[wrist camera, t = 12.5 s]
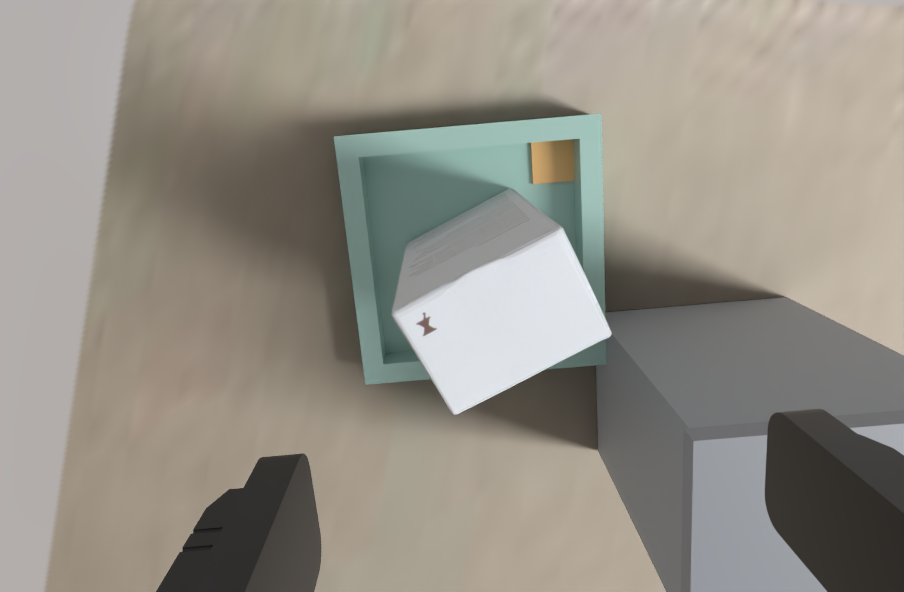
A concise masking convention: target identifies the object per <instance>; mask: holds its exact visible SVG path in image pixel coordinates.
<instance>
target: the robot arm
mask: <svg viewBox="0 0 904 592" xmlns="http://www.w3.org/2000/svg"><path fill="white" fill-rule="evenodd" d="M765 503H766V508H767V512H768V515H769V518H770V520H771V523H772V525H773V527H774V528H775V530H776V531H777V533H778V534H779V535H780V536H781V537H782V539H783V540H784V541H785V542H786V543H787V545H788V546H789V547H790V548H791V549H792V550H793V552H794V553H795V554H796V555H797V556H798V558H799V559H800V560H801V561H802V562H803V563H804V565H805V566H806V567H807V568H808V569H809V571H810V572H811V573H812V574H813V575H814V576H815V578H816V579H817V580H818V581H819V582H820V584H821V585H822V586H823V587H824V588H825V589H826V591H827V592H904V455H902V454H901V453H900V452H898V451H897V450H895V449H894V448H892V447H889V446H887V445H884V444H882V443H880V442H877V441H875V440H872V439H870V438H868V437H865V436H863V435H860V434H857V433H856V432H854V431H853V430H851V429H850V428H849V427H847V426H846V425H845V424H843V423H842V422H840V421H839V420H838V419H836V418H835V417H834V416H832V415H831V414H829V413H828V412H827V411H825V410H823V409H809V410H798V411H786V412H776V413H774V414H773V415H772V416H771V417H770V420H769V423H768V433H767V453H766V474H765ZM320 563H321V535H320V528H319V522H318V515H317V509H316V503H315V497H314V490H313V484H312V478H311V471H310V466H309V462H308V459H307V456H306V455H305V454H294V455H282V456H271V457H262V458H260V459H259V460H258V462H257V464H256V466H255V468H254V469H253V471H252V473H251V475H250V477H249V479H248V481H247V483H246V484H245V486H244V488H240V489H229V490H228V491H227V492H226V493H224V494H223V495H222V496H221V497H220V498H218V499H217V500H216V501H215V502H213V503H212V504H211V505H210V506H209V507H207V508H206V510H205V511H204V513H203V515H202V516H201V518H200V520H199V521H198V523H197V525H196V526H195V528H194V530H193V534H191V535H190V536H189V538H188V540H187V541H186V543H185V545H184V546H183V552H180V553H179V555H178V556H177V558H176V559H175V561H174V563H173V564H172V566H171V568H170V569H169V571H168V573H167V574H166V576H165V578H164V579H163V581H162V583H161V584H160V586H159V588H158V589H157V591H156V592H314V590H315V586H316V582H317V578H318V574H319V570H320Z"/></svg>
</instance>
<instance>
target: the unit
mask: <svg viewBox="0 0 904 592" xmlns="http://www.w3.org/2000/svg"><path fill="white" fill-rule="evenodd" d="M605 319H606V321H607V323H608V326H609V328H610V330H611V332H612V334H611V336H610V337H609V338H606V365H596V379H597V420H598V451H599V454H600V456H601V458H602V460H603V462H604V464H605V466H606V468H607V470H608V472H609V474H610V476H611V478H612V480H613V482H614V484H615V487H616V489H617V491H618V493H619V495H620V497H621V499H622V501H623V503H624V505H625V507H626V509H627V511H628V513H629V515H630V517H631V519H632V522H633V524H634V526H635V528H636V530H637V532H638V534H639V536H640V538H641V540H642V542H643V544H644V546H645V548H646V550H647V552H648V555H649V557H650V559H651V561H652V563H653V565H654V567H655V569H656V571H657V573H658V575H659V577H660V579H661V581H662V583H663V585H664V588H665V590H666V592H827V591H826V589H825V588H824V587H823V586H822V585H821V584H820V582H819V581H818V580H817V579H816V578H815V576H814V575H813V574H812V573H811V572H810V571H809V569H808V568H807V567H806V566H805V565H804V563H803V562H802V561H801V560H800V559H799V558H798V556H797V555H796V554H795V553H794V552H793V550H792V549H791V548H790V547H789V546H788V545H787V543H786V542H785V541H784V540H783V539H782V537H781V536H780V535H779V534H778V533H777V531H776V530H775V528H774V527H773V525H772V523H771V520H770V518H769V515H768V512H767V508H766V503H765V474H766V453H767V433H768V423H769V420H770V417H771V416H772V415H773V414H774V413H776V412H786V411H798V410H809V409H823V410H825V411H827V412H828V413H829V414H831V415H832V416H834V417H835V418H836V419H838V420H839V421H840V422H842V423H843V424H845V425H846V426H847V427H849V428H850V429H851V430H853V431H854V432H856V433H857V434H860V435H863V436H865V437H868V438H870V439H872V440H875V441H877V442H880V443H882V444H884V445H887V446H889V447H892V448H894V449H895V450H897V451H898V452H900V453H901V454H902V455H904V356H903V355H901V354H899V353H897V352H895V351H893V350H891V349H889V348H887V347H885V346H883V345H881V344H879V343H877V342H875V341H873V340H871V339H869V338H867V337H865V336H863V335H861V334H859V333H857V332H855V331H853V330H851V329H849V328H847V327H845V326H843V325H841V324H839V323H837V322H835V321H833V320H831V319H829V318H827V317H825V316H823V315H821V314H819V313H817V312H815V311H813V310H811V309H809V308H807V307H805V306H803V305H801V304H799V303H797V302H795V301H793V300H791V299H789V298H787V297H781V298H769V299H757V300H746V301H734V302H722V303H710V304H698V305H686V306H675V307H663V308H651V309H639V310H627V311H615V312H605Z"/></svg>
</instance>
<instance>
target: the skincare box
mask: <svg viewBox="0 0 904 592" xmlns="http://www.w3.org/2000/svg"><path fill="white" fill-rule="evenodd" d="M392 317H393V319H394V320H395V322H396V324H397V325H398V327H399V328H400V330H401V332H402V333H403V335H404V336H405V338H406V340H407V341H408V343H409V344H410V346H411V348H412V349H413V351H414V353H415V354H416V356H417V357H418V359H419V361H420V362H421V364H422V366H423V367H424V369H425V370H426V372H427V374H428V375H429V377H430V379H431V380H432V382H433V384H434V385H435V387H436V388H437V390H438V392H439V393H440V395H441V397H442V398H443V400H444V402H445V403H446V405H447V407H448V408H449V410H450V412H451V413H452V414H454V415H457V414H459V413H461V412H463V411H465V410H467V409H469V408H471V407H473V406H475V405H477V404H479V403H481V402H483V401H485V400H487V399H489V398H491V397H493V396H495V395H496V394H498V393H500V392H502V391H504V390H506V389H508V388H510V387H512V386H514V385H516V384H518V383H520V382H522V381H524V380H526V379H528V378H530V377H532V376H533V375H535V374H537V373H539V372H541V371H543V370H545V369H547V368H549V367H551V366H553V365H555V364H556V363H558V362H560V361H562V360H564V359H566V358H568V357H570V356H572V355H574V354H576V353H578V352H580V351H582V350H584V349H586V348H588V347H590V346H592V345H594V344H596V343H598V342H600V341H602V340H604V339H606V338H609V337H610V336H611V334H612V332H611V330H610V328H609V326H608V323H607V321H606V319H605V317H604V314H603V312H602V310H601V308H600V306H599V303H598V301H597V299H596V297H595V295H594V293H593V290H592V288H591V286H590V284H589V282H588V280H587V278H586V275H585V273H584V271H583V269H582V267H581V265H580V263H579V260H578V258H577V256H576V254H575V252H574V250H573V248H572V246H571V244H570V242H569V240H568V238H567V236H566V234H565V231H564V229H563V228H562V227H561V226H560V225H559V224H557V223H556V222H554V221H553V220H551V219H550V218H549V217H548V216H546V215H545V214H544V213H542V212H541V211H540V210H539V209H538V208H536V207H535V206H534V205H533V204H531V203H530V202H529V201H528V200H527V199H525V198H524V197H523V196H522V195H520V194H519V193H518V192H517V191H515V190H514V189H512V188H510V189H508V190H506V191H504V192H502V193H500V194H498V195H496V196H494V197H492V198H491V199H489V200H487V201H485V202H483V203H481V204H479V205H477V206H476V207H474V208H472V209H470V210H468V211H466V212H464V213H462V214H460V215H459V216H457V217H455V218H453V219H451V220H449V221H447V222H445V223H444V224H442V225H440V226H438V227H436V228H434V229H432V230H431V231H429V232H427V233H425V234H423V235H421V236H419V237H417V238H416V239H414V240H412V241H410V242H408V243H407V244H406V247H405V252H404V257H403V262H402V266H401V271H400V276H399V281H398V285H397V290H396V295H395V300H394V304H393V308H392Z"/></svg>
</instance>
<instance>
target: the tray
mask: <svg viewBox="0 0 904 592" xmlns="http://www.w3.org/2000/svg"><path fill="white" fill-rule="evenodd" d="M334 143H335V151H336V159H337V167H338V175H339V182H340V190H341V198H342V206H343V214H344V222H345V229H346V237H347V245H348V253H349V261H350V268H351V276H352V284H353V292H354V300H355V308H356V315H357V323H358V331H359V339H360V347H361V354H362V362H363V370H364V378H365V385H369V384H381V383H393V382H405V381H416V380H428V379H430V377H429V375H428V374H427V372H426V370H425V369H424V367H423V366H422V364H421V362H420V361H419V359H418V357H417V356H416V354H415V353H414V351H413V349H412V348H411V346H410V344H409V343H408V341H407V340H406V338H405V336H404V335H403V333H402V332H401V330H400V328H399V327H398V325H397V324H396V322H395V320H394V319H393V317H392V308H393V304H394V300H395V295H396V290H397V285H398V281H399V276H400V271H401V266H402V262H403V257H404V252H405V247H406V244H407V243H408V242H410V241H412V240H414V239H416V238H417V237H419V236H421V235H423V234H425V233H427V232H429V231H431V230H432V229H434V228H436V227H438V226H440V225H442V224H444V223H445V222H447V221H449V220H451V219H453V218H455V217H457V216H459V215H460V214H462V213H464V212H466V211H468V210H470V209H472V208H474V207H476V206H477V205H479V204H481V203H483V202H485V201H487V200H489V199H491V198H492V197H494V196H496V195H498V194H500V193H502V192H504V191H506V190H508V189H510V188H512V189H514V190H515V191H517V192H518V193H519V194H520V195H522V196H523V197H524V198H525V199H527V200H528V201H529V202H530V203H531V204H533V205H534V206H535V207H536V208H538V209H539V210H540V211H541V212H542V213H544V214H545V215H546V216H548V217H549V218H550V219H551V220H553V221H554V222H556V223H557V224H559V225H560V226H561V227H562V228H563V229H564V231H565V234H566V236H567V238H568V240H569V242H570V244H571V246H572V248H573V250H574V252H575V254H576V256H577V258H578V260H579V263H580V265H581V267H582V269H583V271H584V273H585V275H586V278H587V280H588V282H589V284H590V286H591V288H592V290H593V293H594V295H595V297H596V299H597V301H598V303H599V306H600V308H601V310H602V312H603V314H604V317H605V269H604V217H603V166H602V114H588V115H576V116H564V117H553V118H541V119H529V120H518V121H506V122H494V123H483V124H471V125H459V126H447V127H436V128H424V129H412V130H401V131H389V132H377V133H366V134H354V135H342V136H334ZM595 365H606V339H604V340H602V341H600V342H598V343H596V344H594V345H592V346H590V347H588V348H586V349H584V350H582V351H580V352H578V353H576V354H574V355H572V356H570V357H568V358H566V359H564V360H562V361H560V362H558V363H556V364H555V365H553V366H551V367H549V368H547V369H559V368H571V367H583V366H595ZM547 369H545V370H547Z"/></svg>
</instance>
